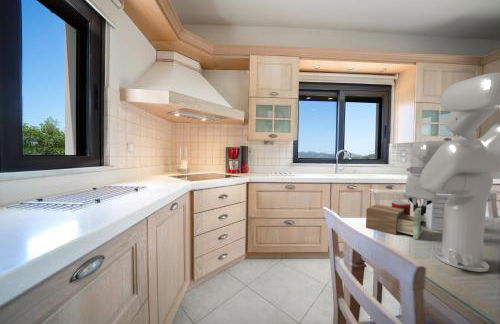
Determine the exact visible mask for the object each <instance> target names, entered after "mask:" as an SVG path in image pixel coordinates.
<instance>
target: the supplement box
mask: <svg viewBox="0 0 500 324" xmlns="http://www.w3.org/2000/svg"><path fill="white" fill-rule="evenodd" d="M451 195H452V194H437V193H436V196H437V198H438V200H439V201H438V202H436V203H430V204H429V205H427V206H426V214H425V213H424V222H426V227H425V228H428V229H429V230H432V231H442V232H443V217H444V206H445V203H446V201H447V200H448V198H449V197H450V196H451ZM423 200H424V199H420V205H422V204H423ZM428 201H429V200H428Z"/></svg>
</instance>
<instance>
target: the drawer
mask: <svg viewBox="0 0 500 324" xmlns="http://www.w3.org/2000/svg"><path fill="white" fill-rule="evenodd" d="M421 206H422V205H421V204H420V205H418V208H417V209H415V211H414V215H411V214H410V215H404V214H400V215H398V216H397V231H398V233H403V234H407V235H411V236H412V239H414V240H415V239H416V240H418V239H419V238H420V237H421V235H422V233H423V232H424V227H425V228H427V227H426V222H424V215H423V216H422V215H421Z"/></svg>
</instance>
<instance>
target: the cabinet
mask: <svg viewBox="0 0 500 324" xmlns="http://www.w3.org/2000/svg"><path fill="white" fill-rule="evenodd" d="M365 211H366V214H365V216H366V217H365V228H367V229H371V230H375V231H378V232H382V233H387V234H389V235H390V234H391V235H395V236H396V235H398V234H399V232H398V231H397V216H398V215H400V214H404V209H402V208H396V207H392V206H391V205H390V206H389V205H383V204H377V203H375V204H374V205H371V206H369V207H367V208H366V210H365Z"/></svg>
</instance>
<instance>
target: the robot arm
mask: <svg viewBox="0 0 500 324" xmlns="http://www.w3.org/2000/svg"><path fill="white" fill-rule="evenodd" d="M439 104H440V107H441V110H444V111H445V112H450V113H448V115H447V116H446V117H445V118H444V123H443V125H444V127H445V129H447V130H448V131H449V132H451V133H452V134H454V135H457V136H458V137H456V138H455V139H452V140H424V141H421V142H414V143H413V144H412V146H411V159H410V161H411V162H410V167H407V168H406V172H409V173H408V174H407V178H406V183H405V193H404V195H402V196H403V198H404V199H405V200H408V201H409V202H411V203H412V205H413V206H412V207H413V208H412V209H413V210H412V211H413V212H414V211H415V209H417V208H418V207H419V204H418V199H420V200H421V199H424V200H423V204H422V206H421V215H422V216H423V215H424V213H425V214H426V206H427V205H429V204H430V203H436V202H438V201H439V200H438V198H437V196H436V193H437V194H452V195H451V196H450V197H449V198H448V200H447V201H446V203H445V206H444V217H443V231H442V234H441V235H442V236H441V249H439V250H436V251H435V252H434V255H435V258H436V259H438V260H439V261H441V262H443V263H444V264H447V265H449V266H450V267H451V266H452V267H454V268H458V269H460V270H465V271H468V272H477V273H485V272H489V270H490V265H489V264H488V263H487V262H486V261H485V260H483V256H484V243H485V242H484V241H485V239H484V238H485V226H486V225H485V224H486V214H487V211H486V210H487V205H488V199H489V195H490V193H491V192H492V191H491V190H492V188H493V183H494V177H493V175H492V174H493V173H498V172H499V173H500V120H498V121H497V122H496V123H494V124H493V125H492V126H491V127H490V128H489V129H488V131H486V132H485V133H484V134H483V135H482V136H481V137H478V136H477V135H478V133H477V131H476V130H477V129H478V128H479V127H480V126H481V125H482V124H483V123H484V122H485V121H486V120H487V119H488V118H490V116H492V115H493V114H495V112H496V111H497V110H499V109H500V72H492V73H491V72H490V73H485V74H482V75H478V76H473V77H471V78H467V79H463V80H460V81H456V82H455V83H453V84H451V85H449V86H448V87H447V88H446V89H445V90H444V92H443V93H442V95H441V97H440V103H439ZM428 200H429V201H428Z"/></svg>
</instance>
